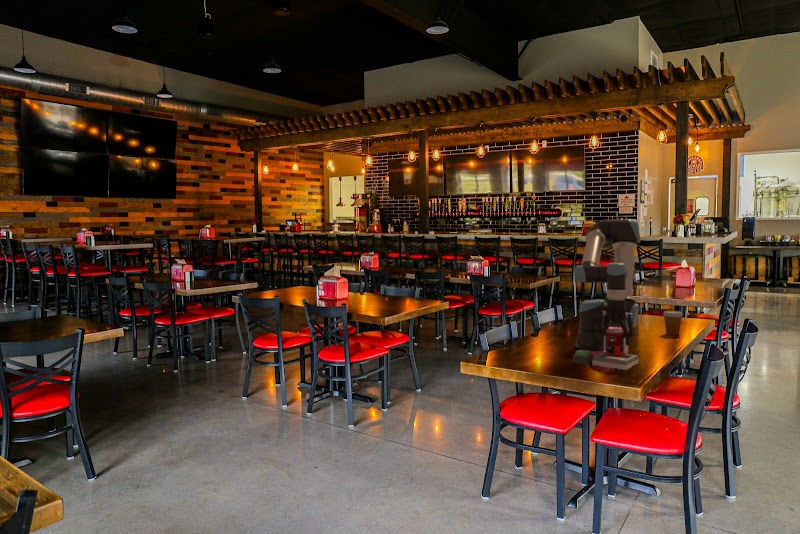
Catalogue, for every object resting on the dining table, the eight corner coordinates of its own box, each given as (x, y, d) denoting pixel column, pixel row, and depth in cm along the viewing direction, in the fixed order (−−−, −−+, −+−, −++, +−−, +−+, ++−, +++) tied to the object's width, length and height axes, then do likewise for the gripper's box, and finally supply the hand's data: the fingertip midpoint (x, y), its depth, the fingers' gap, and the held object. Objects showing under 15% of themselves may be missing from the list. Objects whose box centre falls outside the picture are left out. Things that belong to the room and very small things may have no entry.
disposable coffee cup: (686, 334, 308) (686, 312, 308) (676, 336, 303) (676, 314, 302) (669, 331, 316) (669, 310, 315) (659, 333, 311) (659, 311, 310)
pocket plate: (606, 358, 259) (606, 350, 259) (638, 363, 250) (638, 355, 249) (592, 364, 249) (592, 356, 248) (625, 370, 239) (625, 361, 239)
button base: (579, 359, 258) (579, 352, 258) (594, 362, 253) (594, 354, 253) (571, 362, 253) (571, 355, 252) (587, 365, 248) (587, 357, 248)
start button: (580, 356, 256) (580, 349, 256) (590, 357, 253) (590, 351, 253) (575, 358, 253) (575, 351, 252) (585, 360, 249) (585, 353, 249)
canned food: (603, 353, 253) (603, 328, 252) (621, 353, 253) (622, 328, 252) (609, 357, 245) (609, 331, 244) (628, 357, 245) (628, 331, 244)
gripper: (589, 298, 251) (588, 349, 253) (637, 301, 237) (636, 356, 239) (596, 296, 257) (596, 346, 259) (644, 299, 243) (643, 352, 244)
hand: (615, 351), depth 249 cm, fingers closed on canned food, 8 cm apart
